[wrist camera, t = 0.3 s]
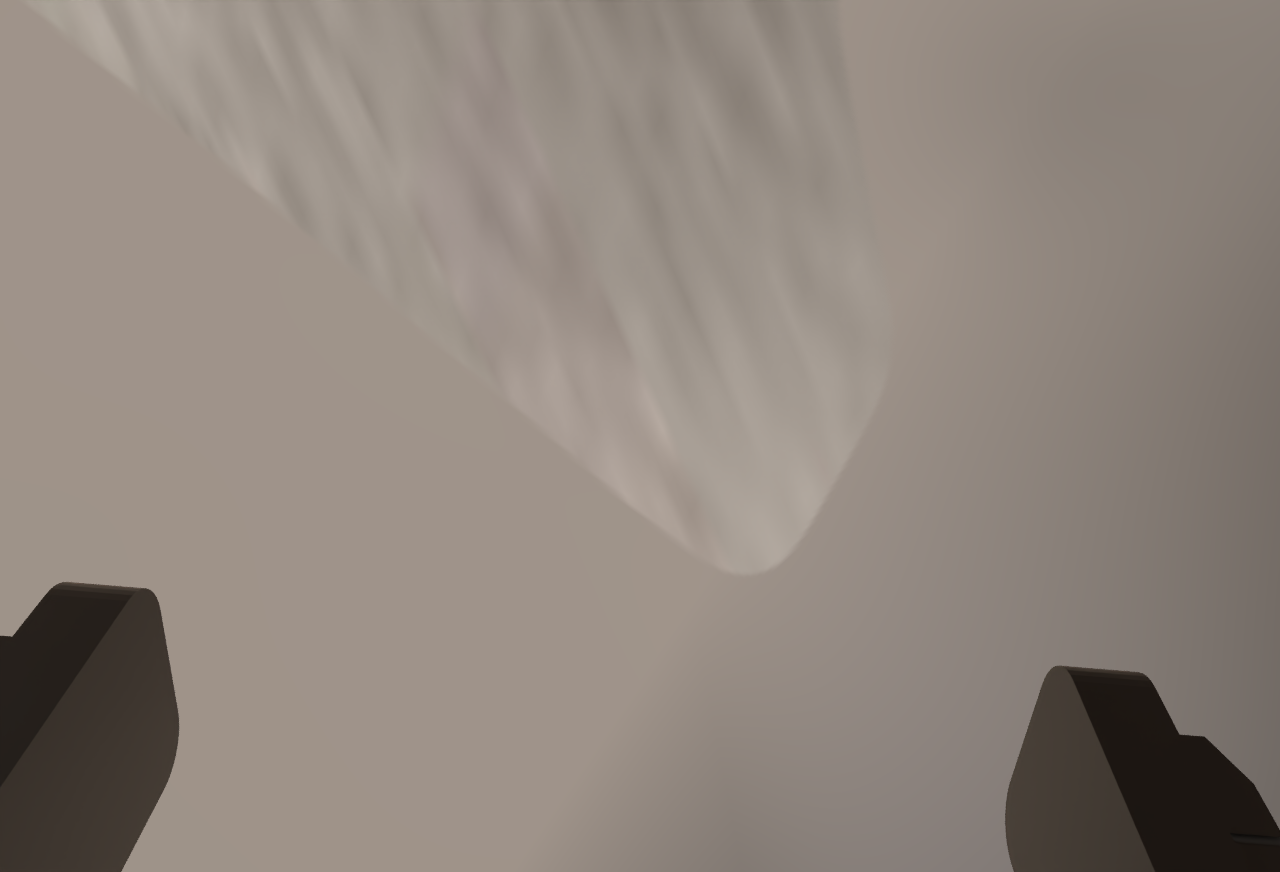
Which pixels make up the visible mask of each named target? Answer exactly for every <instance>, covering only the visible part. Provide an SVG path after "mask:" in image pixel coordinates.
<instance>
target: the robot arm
mask: <svg viewBox="0 0 1280 872" xmlns="http://www.w3.org/2000/svg"><path fill="white" fill-rule="evenodd" d="M178 736H179V717H178V709H177V703H176V697H175V692H174V685H173V680H172V674H171V668H170V663H169V657H168V651H167V645H166V639H165V634H164V628H163V622H162V616H161V610H160V606H159V602H158V600H157V597H156V596H155V594H154V593H153V592H152V591H151V590H149V589H146V588H133V587H121V586H109V585H96V584H84V583H72V582H62V583H59V584H57V585H55V586H54V587H53V588H51V589H50V590H49V592H48V593H47V594H46V595H45V596H44V597H43V599H42V600H41V601H40V602H39V604H38V605H37V606H36V607H35V609H34V610H33V611H32V613H31V614H30V615H29V616H28V618H27V619H26V620H25V621H24V623H23V624H22V625H21V626H20V628H19V629H18V630H17V632H16V633H15V634H14V635H13V637H10V636H0V872H121V871H122V869H123V867H124V865H125V863H126V861H127V859H128V858H129V856H130V854H131V852H132V850H133V848H134V846H135V844H136V842H137V840H138V838H139V836H140V835H141V833H142V830H143V828H144V827H145V825H146V823H147V821H148V819H149V817H150V815H151V813H152V811H153V810H154V808H155V806H156V804H157V802H158V800H159V798H160V796H161V794H162V792H163V790H164V788H165V786H166V784H167V782H168V779H169V777H170V774H171V771H172V767H173V764H174V760H175V756H176V750H177V745H178ZM1005 825H1006V839H1007V846H1008V852H1009V855H1010V860H1011V864H1012V867H1013V870H1014V872H1280V830H1279V828H1278V826H1277V824H1276V822H1275V821H1274V819H1273V817H1272V816H1271V814H1270V812H1269V810H1268V808H1267V807H1266V805H1265V803H1264V801H1263V800H1262V798H1261V796H1260V794H1259V792H1258V791H1257V789H1256V787H1255V785H1254V784H1253V783H1252V782H1251V781H1250V780H1249V779H1248V778H1247V777H1246V776H1245V775H1244V774H1243V773H1242V772H1241V771H1240V770H1239V769H1238V768H1237V767H1235V766H1234V765H1233V764H1232V763H1231V762H1230V761H1229V760H1228V759H1227V758H1226V757H1225V756H1224V755H1223V754H1222V753H1221V752H1220V751H1219V750H1218V749H1217V748H1216V747H1215V746H1214V745H1213V744H1212V743H1211V742H1209V741H1208V740H1207V739H1206V738H1205V737H1202V736H1189V735H1179V733H1178V731H1177V730H1176V727H1175V725H1174V724H1173V721H1172V719H1171V718H1170V716H1169V714H1168V712H1167V710H1166V708H1165V706H1164V704H1163V702H1162V700H1161V698H1160V696H1159V694H1158V692H1157V690H1156V688H1155V687H1154V685H1153V683H1152V682H1151V680H1150V679H1149V678H1148V677H1147V676H1146V675H1144V674H1143V673H1139V672H1130V671H1118V670H1105V669H1093V668H1081V667H1069V666H1055V667H1053V668H1052V669H1051V670H1050V671H1049V672H1048V674H1047V675H1046V677H1045V679H1044V682H1043V684H1042V687H1041V690H1040V693H1039V696H1038V699H1037V702H1036V705H1035V708H1034V711H1033V714H1032V717H1031V720H1030V723H1029V726H1028V730H1027V733H1026V736H1025V739H1024V742H1023V745H1022V748H1021V751H1020V754H1019V757H1018V760H1017V763H1016V766H1015V769H1014V772H1013V775H1012V778H1011V781H1010V785H1009V789H1008V794H1007V801H1006V813H1005Z"/></svg>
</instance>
